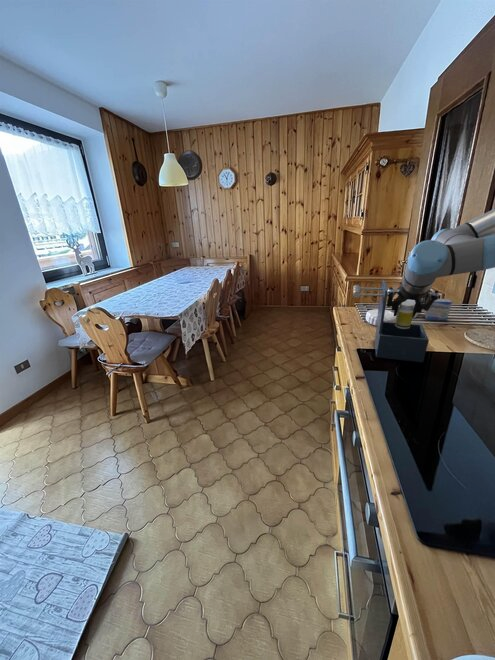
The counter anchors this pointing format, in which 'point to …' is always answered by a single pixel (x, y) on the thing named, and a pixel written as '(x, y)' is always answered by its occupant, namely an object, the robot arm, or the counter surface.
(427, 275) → the robot arm
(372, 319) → the mooncake
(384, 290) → the compartment lid
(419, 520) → the counter surface
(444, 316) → the medicine box
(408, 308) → the supplement bottle
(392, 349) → the compartment
